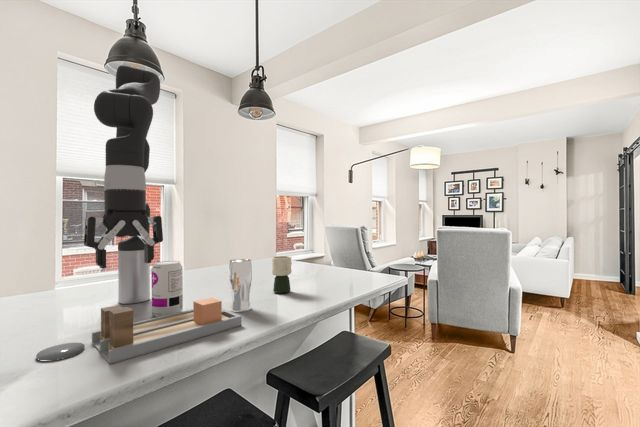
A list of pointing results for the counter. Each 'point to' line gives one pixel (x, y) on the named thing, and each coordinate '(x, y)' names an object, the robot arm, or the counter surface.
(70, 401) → the counter surface
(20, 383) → the counter surface
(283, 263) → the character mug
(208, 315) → the rust cube
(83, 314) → the counter surface
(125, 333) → the oak strip
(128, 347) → the lane frame
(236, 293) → the beer glass
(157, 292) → the supplement can
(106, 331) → the oak strip
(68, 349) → the slate coaster
